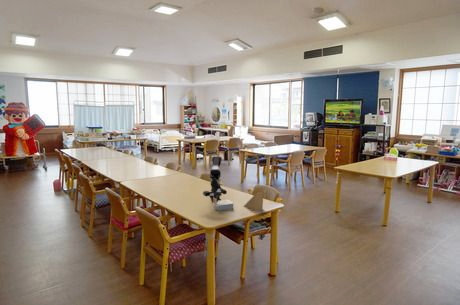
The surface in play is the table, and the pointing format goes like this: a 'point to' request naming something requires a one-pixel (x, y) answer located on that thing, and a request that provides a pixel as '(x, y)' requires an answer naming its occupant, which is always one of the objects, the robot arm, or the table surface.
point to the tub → (224, 207)
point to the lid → (221, 202)
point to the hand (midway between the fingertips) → (214, 202)
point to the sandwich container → (255, 202)
